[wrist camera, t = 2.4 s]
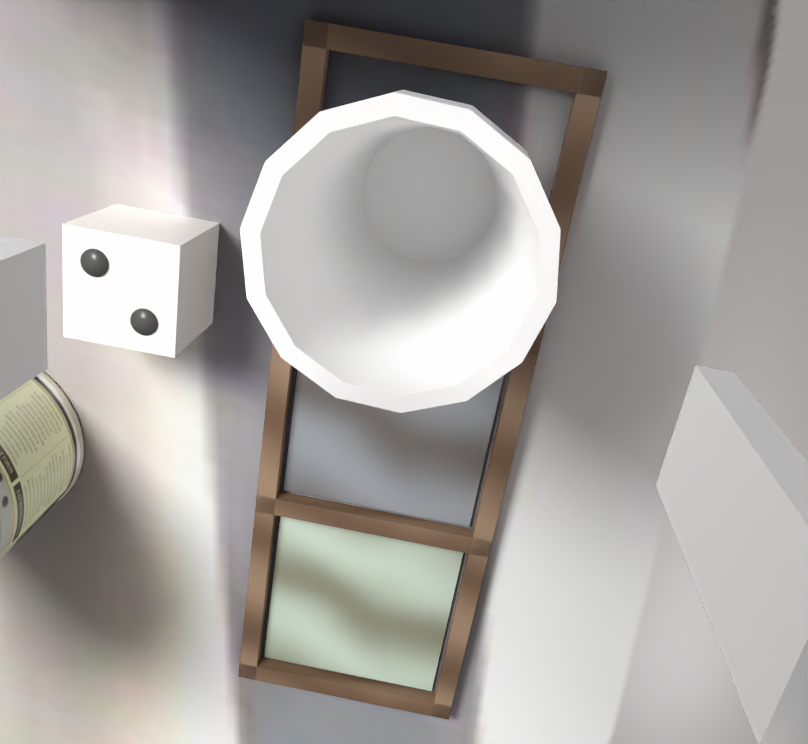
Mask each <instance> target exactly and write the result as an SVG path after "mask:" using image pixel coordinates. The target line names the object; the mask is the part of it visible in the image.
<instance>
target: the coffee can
mask: <svg viewBox="0 0 808 744" xmlns="http://www.w3.org/2000/svg"><path fill="white" fill-rule="evenodd" d="M83 456H84V442H83V435H82V430H81V426H80V423H79V419H78V417H77V415H76V413H75V411H74V409H73V408H72V406H71V404H70V402H69V400H68V399H67V397H66V395H65V394H64V393H63V391H62V390H61V389H60V388H59V387H58V385H57V384H56V383H55V382H54V381H53V380H52V379H51V378H50V377H49V376H48V375H47V374H45V373H44V372H42V373H40V374H39V375H37V376H36V377H34V378H33V379H31V380H30V381H28V382H27V383H25V384H24V385H22V386H21V387H19V388H18V389H17V390H15V391H14V392H12V393H11V394H9V395H8V396H6V397H5V398H3V399H2V400H0V559H1V558H2V557H3V556H4V555H5V554H6V553H7V552H8V551H9V550H10V549H11V548H12V547H13V546H14V545H15V544H16V543H17V542H18V541H19V540H20V539H21V538H22V537H23V536H24V535H25V534H26V533H27V532H28V531H29V530H30V529H31V528H32V527H33V526H34V525H35V524H36V523H37V522H38V521H39V520H40V519H41V518H42V517H43V516H44V515H45V514H46V512H47V511H48V510H49V509H50V508H51V507H52V506H53V505H54V504H55V503H56V502H58V501H59V500H61V499H62V498H63V497H64V496H65V495H66V494H67V493H68V492H69V491H70V489H71V488H72V487H73V485H74V484H75V482H76V481H77V479H78V477H79V474H80V471H81V467H82V464H83Z"/></svg>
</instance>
